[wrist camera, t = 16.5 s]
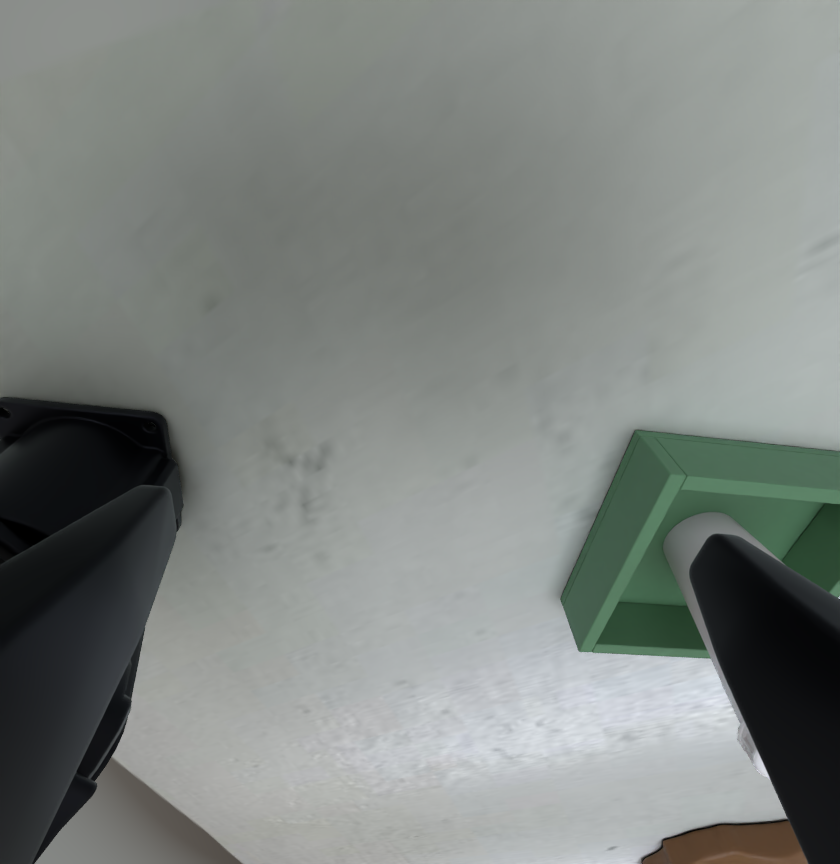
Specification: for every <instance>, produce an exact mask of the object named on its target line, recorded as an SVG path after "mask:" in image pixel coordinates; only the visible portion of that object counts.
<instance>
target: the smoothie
mask: <svg viewBox="0 0 840 864" xmlns="http://www.w3.org/2000/svg"><path fill="white" fill-rule="evenodd" d="M717 533H718V534H730V535H736V536H739V537H741V538H743V539H745V540H746V541H748V542H749V543H751V544H752V545H754V546H756V547H757V548H759V549H760V550H762V551H764V552H765V553H767V554H768V555H770V556H772V557H773V558H775V559H776V560H778V561H780V560H779V559H778V558H777V557H776V556H775V555H773V554H772V553H771V552H770V551H769V550H768V549H767V548H765V547H764V546H763V545H762V544H761V543H760V542H759V541H758V540H756V539H755V538H754V537H753V536H752V535H751V534H750V533H748V532H747V531H746V530H745V529H744V528H743V527H742V526H741V525H739V524H738V523H737V522H736V521H735V520H734V519H733V518H731V517H730V516H728V515H726V514H723V513H719V512H706V513H701V514H697V515H694V516H691V517H689V518H687V519H685V520H683V521H682V522H680V523H679V524H677V525H676V526H675V527H674V528H673V529H672V530H671V531H670V532H669V533H668V535H667V536H666V538H665V540H664V543H663V551H664V554H665V556H666V559H667V561H668V563H669V565H670V568H671V570H672V572H673V574H674V577H675V579H676V581H677V583H678V586H679V588H680V590H681V592H682V595H683V597H684V599H685V601H686V603H687V606H688V608H689V610H690V612H691V615H692V617H693V619H694V621H695V624H696V626H697V628H698V630H699V633H700V635H701V637H702V639H703V642H704V644H705V646H706V648H707V651H708V653H709V655H710V657H711V660H712V662H713V664H714V666H715V669H716V671H717V673H718V675H719V678H720V680H721V682H722V685H723V687H724V690H725V692H726V694H727V696H728V698H729V700H730V703H731V705H732V707H733V709H734V711H735V713H736V715H737V718H738V720H739V722H740V726H739V727H738V738H737V740H738V742H739V743H740V745H741V747H742V748H743V750H745V751H746V752H747V754H748V756H749V758H750V760H751V761H752V763H753V765H754V767H755V769H756V770H757V771H758V772H759V773H760V774H761V775H763V776H765V777H767V778H769V779H770V777H769V775H768V773H767V771H766V769H765V766H764V764H763V762H762V760H761V757H760V755H759V753H758V751H757V748H756V746H755V744H754V742H753V740H752V737H751V735H750V733H749V731H748V728H747V726H746V724H745V722H744V719H743V717H742V715H741V713H740V711H739V708H738V706H737V704H736V702H735V699H734V697H733V695H732V693H731V690H730V688H729V686H728V684H727V681H726V679H725V677H724V675H723V672H722V670H721V667H720V665H719V663H718V660H717V657H716V654H715V652H714V649H713V646H712V643H711V640H710V637H709V634H708V631H707V628H706V626H705V623H704V620H703V617H702V614H701V611H700V608H699V605H698V602H697V599H696V596H695V593H694V590H693V587H692V584H691V582H690V577H689V569H690V566H691V564H692V562H693V560H694V559H695V557H696V555H697V554H698V552H699V551H700V549H701V547H702V546H703V544H704V543H705V541H706V539H707V538H708V537H709V536H711V535H712V534H717ZM780 562H781V561H780ZM781 563H782V562H781ZM783 564H784V563H783ZM784 565H785V564H784Z"/></svg>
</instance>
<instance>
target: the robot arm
mask: <svg viewBox="0 0 840 864" xmlns="http://www.w3.org/2000/svg"><path fill="white" fill-rule="evenodd" d="M4 408H5V409H7V410H8V411H9V412H10V413H8V412H7V411H5V409H4ZM148 422H152V423H153V424H155V425H156V427H152V426H150V425H149V424H148ZM182 508H183V498H182V491H181V484H180V477H179V470H178V464H177V463H176V462H175V460H174V459H172V455H171V449H170V442H169V435H168V429H167V423H166V420H165V419H164V418H163V416H162V415H160V414H158V413H155V412H150V411H140V410H130V409H120V408H110V407H100V406H90V405H79V404H69V403H59V402H49V401H39V400H29V399H19V398H9V397H3V398H0V864H34V863H35V862H36V861H37V859H38V858H39V857H40V856H41V854H42V853H43V852H44V850H45V849H46V848H47V847H48V845H49V844H50V842H51V841H52V840H53V839H54V837H55V836H56V835H57V833H58V832H59V831H60V830H61V829H62V827H63V826H64V825H65V824H66V823H67V822H68V821H69V820H70V819H71V818H72V817H73V816H74V815H75V814H76V813H77V812H78V810H79V809H80V808H81V807H82V806H83V805H84V804H85V803H86V802H87V801H88V800H89V799H90V798H91V797H92V795H93V794H94V792H95V790H96V788H97V783H96V782H94V781H95V780H96V779H97V777H98V776H99V775H100V773H101V772H102V771H103V769H104V768H105V766H106V765H107V763H108V761H109V760H110V758H111V756H112V755H113V753H114V751H115V750H116V748H117V746H118V743H119V741H120V739H121V737H122V734H123V732H124V729H125V725H126V722H127V718H128V715H129V713H130V709H131V702H132V701H131V698H132V692H133V687H134V682H135V677H136V672H137V667H138V662H139V657H140V651H141V646H142V641H143V636H144V631H145V625H146V622H147V620H148V617H149V614H150V611H151V608H152V605H153V602H154V600H155V597H156V594H157V591H158V588H159V585H160V582H161V580H162V577H163V574H164V571H165V568H166V565H167V562H168V560H169V557H170V554H171V551H172V548H173V545H174V542H175V538H176V532H177V531H178V530H179V528H180V526H181V515H180V512H181V510H182ZM689 577H690V582H691V584H692V587H693V590H694V593H695V596H696V599H697V602H698V605H699V608H700V611H701V614H702V617H703V620H704V623H705V626H706V628H707V631H708V634H709V637H710V640H711V643H712V646H713V649H714V652H715V654H716V657H717V660H718V663H719V665H720V667H721V670H722V672H723V675H724V677H725V679H726V681H727V684H728V686H729V688H730V690H731V693H732V695H733V697H734V699H735V702H736V704H737V706H738V708H739V711H740V713H741V715H742V717H743V719H744V722H745V724H746V726H747V728H748V731H749V733H750V735H751V737H752V740H753V742H754V744H755V746H756V748H757V751H758V753H759V755H760V757H761V760H762V762H763V764H764V766H765V769H766V771H767V773H768V775H769V777H770V780H771V782H772V784H773V786H774V789H775V791H776V793H777V795H778V798H779V800H780V802H781V804H782V807H783V809H784V811H785V813H786V815H787V818H788V820H789V822H790V824H791V827H792V829H793V831H794V833H795V836H796V838H797V840H798V842H799V844H800V847H801V849H802V851H803V853H804V856H805V858H806V860H807V862H808V864H840V599H839V598H837V597H835V596H834V595H832V594H831V593H829V592H827V591H826V590H824V589H823V588H821V587H819V586H818V585H816V584H815V583H813V582H811V581H810V580H808V579H807V578H805V577H804V576H802V575H800V574H799V573H797V572H796V571H794V570H792V569H791V568H789V567H788V566H786V565H784V564H783V563H781V562H780V561H778V560H776V559H775V558H773V557H772V556H770V555H768V554H767V553H765V552H764V551H762V550H760V549H759V548H757V547H756V546H754V545H752V544H751V543H749V542H748V541H746V540H745V539H743V538H741V537H739V536H736V535H730V534H718V533H717V534H712V535H711V536H709V537H708V538H707V539H706V541H705V543H704V544H703V546H702V547H701V549H700V551H699V552H698V554H697V555H696V557H695V559H694V560H693V562H692V564H691V566H690V569H689Z"/></svg>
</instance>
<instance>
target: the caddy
mask: <svg viewBox="0 0 840 864" xmlns="http://www.w3.org/2000/svg"><path fill="white" fill-rule="evenodd" d="M706 512H719V513H723V514H726V515H728V516H730V517H731V518H733V519H734V520H735V521H736V522H737V523H738V524H739V525H741V526H742V527H743V528H744V529H745V530H746V531H747V532H748V533H750V534H751V535H752V536H753V537H754V538H755V539H756V540H758V541H759V542H760V543H761V544H762V545H763V546H764V547H765V548H767V549H768V550H769V551H770V552H771V553H772V554H773V555H775V556H776V557H777V558H778V559H779V560H780V561H781V562H782V563H784V564H785V565H786V566H788V567H789V568H791V569H792V570H794V571H796V572H797V573H799V574H800V575H802V576H804V577H805V578H807V579H808V580H810V581H811V582H813V583H815V584H816V585H818V586H819V587H821V588H823V589H824V590H826V591H827V592H829V593H831V594H832V595H834V596H835V597H837V598H838V597H839V596H840V452H838V451H828V450H819V449H809V448H800V447H791V446H781V445H772V444H762V443H753V442H743V441H734V440H725V439H715V438H706V437H696V436H687V435H678V434H668V433H659V432H649V431H640V430H636V431H635V433H634V435H633V437H632V439H631V442H630V444H629V446H628V448H627V451H626V453H625V455H624V457H623V460H622V462H621V464H620V466H619V469H618V471H617V473H616V475H615V478H614V480H613V482H612V484H611V487H610V489H609V491H608V493H607V496H606V498H605V500H604V502H603V505H602V507H601V509H600V511H599V514H598V516H597V518H596V520H595V523H594V525H593V527H592V529H591V532H590V534H589V536H588V538H587V541H586V543H585V545H584V547H583V550H582V552H581V554H580V556H579V559H578V561H577V563H576V565H575V568H574V570H573V572H572V574H571V577H570V579H569V581H568V583H567V586H566V588H565V590H564V592H563V595H562V597H561V602H562V605H563V608H564V610H565V613H566V616H567V619H568V622H569V625H570V628H571V630H572V633H573V636H574V639H575V642H576V645H577V648H578V651H579V652H591V651H592V652H593V653H612V654H631V655H651V656H671V657H690V658H710V659H711V657H710V655H709V653H708V651H707V648H706V646H705V644H704V642H703V639H702V637H701V635H700V633H699V630H698V628H697V626H696V624H695V621H694V619H693V617H692V615H691V612H690V610H689V608H688V606H687V603H686V601H685V599H684V597H683V595H682V592H681V590H680V588H679V586H678V583H677V581H676V579H675V577H674V574H673V572H672V570H671V568H670V565H669V563H668V561H667V559H666V556H665V554H664V551H663V543H664V540H665V538H666V536H667V535H668V533H669V532H670V531H671V530H672V529H673V528H674V527H675V526H676V525H677V524H679V523H680V522H682V521H683V520H685V519H687V518H689V517H691V516H694V515H697V514H701V513H706Z"/></svg>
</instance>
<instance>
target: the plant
mask: <svg viewBox="0 0 840 864" xmlns="http://www.w3.org/2000/svg"><path fill="white" fill-rule="evenodd" d="M642 864H808V862H807V860H806V858H805V856H804V853H803V851H802V849H801V847H800V844H799V842H798V840H797V838H796V836H795V833H794V831H793V829H792V827H791V824H790V822H789V821H783V822H777V823H767V824H752V825H718V826H715V827H712V828H707V829H702V830H697V831H693V832H690V833H687V834H684V835H681V836H678V837H674V838H671V839H667V840H664V841H663V848H662V849H661V850H660V851H658V852H657V853H655V854H653V855H651V856H648V857H646V858H645V859H644V860H643V863H642Z"/></svg>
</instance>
